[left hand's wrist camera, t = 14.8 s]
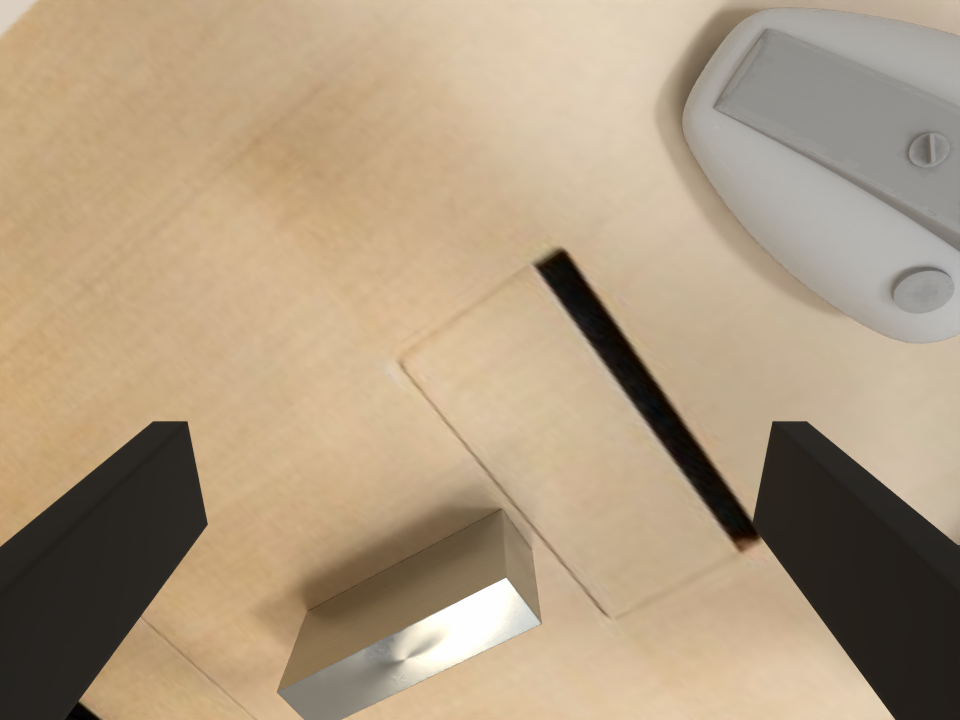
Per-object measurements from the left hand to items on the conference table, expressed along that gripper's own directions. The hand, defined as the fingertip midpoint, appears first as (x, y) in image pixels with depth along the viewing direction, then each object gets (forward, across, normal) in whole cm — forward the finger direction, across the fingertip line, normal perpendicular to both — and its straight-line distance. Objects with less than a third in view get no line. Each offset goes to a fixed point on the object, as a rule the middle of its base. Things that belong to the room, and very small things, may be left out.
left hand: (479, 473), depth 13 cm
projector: (+30, +24, +6) cm, 39 cm away
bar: (+30, -6, -30) cm, 43 cm away
